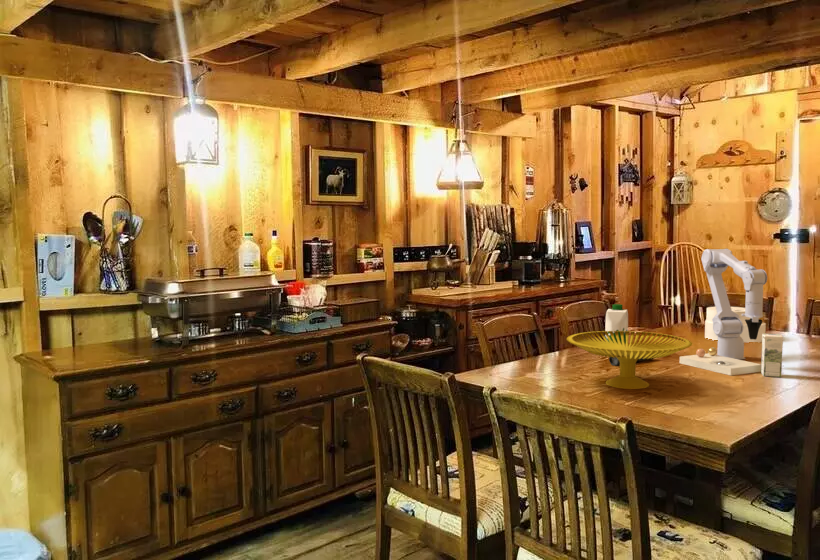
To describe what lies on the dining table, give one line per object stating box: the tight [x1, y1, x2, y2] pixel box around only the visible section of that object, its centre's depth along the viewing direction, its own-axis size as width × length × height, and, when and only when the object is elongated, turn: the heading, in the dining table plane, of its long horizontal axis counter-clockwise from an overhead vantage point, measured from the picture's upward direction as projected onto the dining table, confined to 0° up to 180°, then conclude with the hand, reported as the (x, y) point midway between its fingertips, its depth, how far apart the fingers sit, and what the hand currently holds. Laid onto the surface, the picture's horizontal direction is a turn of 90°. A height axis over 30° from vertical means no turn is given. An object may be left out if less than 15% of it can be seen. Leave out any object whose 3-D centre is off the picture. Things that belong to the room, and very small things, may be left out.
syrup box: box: [760, 333, 784, 378], centre depth 244 cm, size 6×6×14 cm
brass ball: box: [707, 346, 717, 356], centre depth 268 cm, size 3×3×3 cm
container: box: [704, 306, 767, 343], centre depth 318 cm, size 20×25×14 cm
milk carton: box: [604, 303, 629, 344], centre depth 287 cm, size 9×9×20 cm
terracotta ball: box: [695, 348, 706, 357], centre depth 266 cm, size 3×3×3 cm
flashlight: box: [608, 357, 655, 367], centre depth 269 cm, size 5×21×5 cm, turn 120°
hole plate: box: [679, 352, 761, 376], centre depth 259 cm, size 15×24×2 cm, turn 23°
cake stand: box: [566, 330, 693, 390], centre depth 234 cm, size 40×40×15 cm
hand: (753, 339), depth 258 cm, fingers closed
